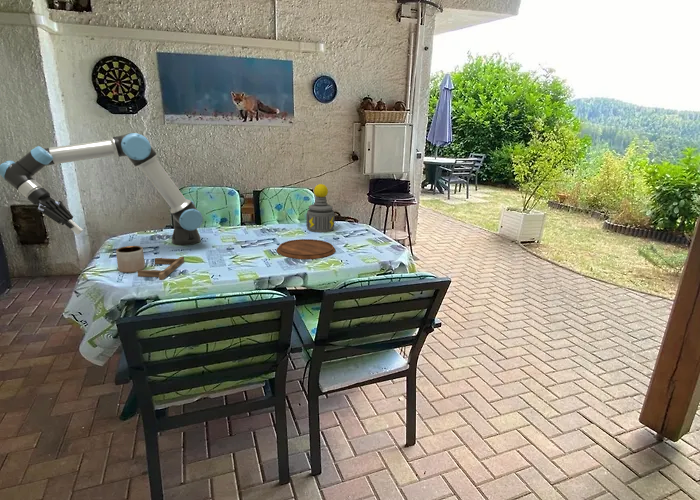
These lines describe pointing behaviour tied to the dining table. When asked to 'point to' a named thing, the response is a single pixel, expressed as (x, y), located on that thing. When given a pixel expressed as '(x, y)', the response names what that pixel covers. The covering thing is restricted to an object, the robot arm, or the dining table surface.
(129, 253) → the planter
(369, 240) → the dining table surface
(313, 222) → the decorative lamp
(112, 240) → the dining table surface
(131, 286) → the dining table surface
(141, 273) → the walnut frame
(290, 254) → the cutting board
